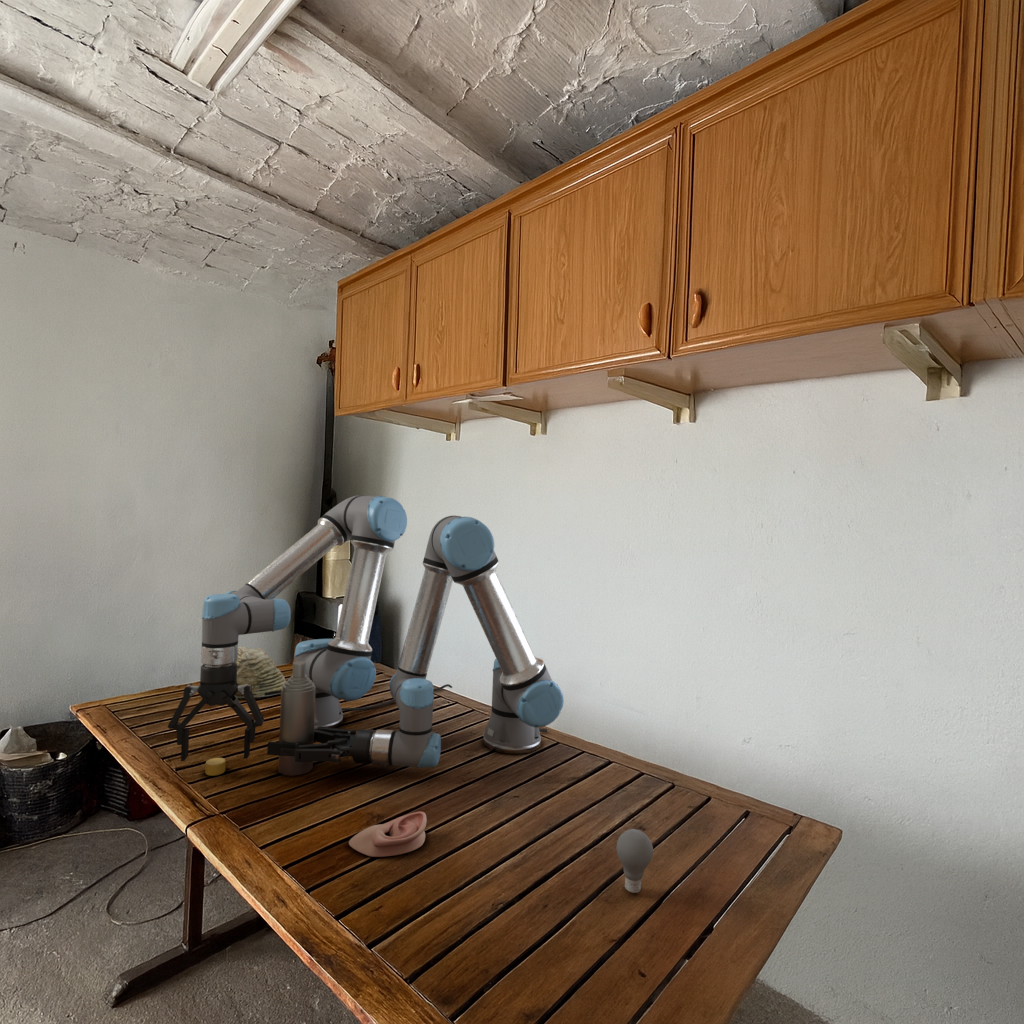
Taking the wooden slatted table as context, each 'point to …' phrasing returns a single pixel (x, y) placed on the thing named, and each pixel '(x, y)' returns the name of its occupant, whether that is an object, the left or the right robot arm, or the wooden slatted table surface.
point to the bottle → (297, 717)
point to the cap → (215, 766)
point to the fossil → (258, 673)
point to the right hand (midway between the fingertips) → (275, 741)
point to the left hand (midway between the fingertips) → (215, 757)
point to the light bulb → (634, 857)
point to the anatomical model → (392, 836)
